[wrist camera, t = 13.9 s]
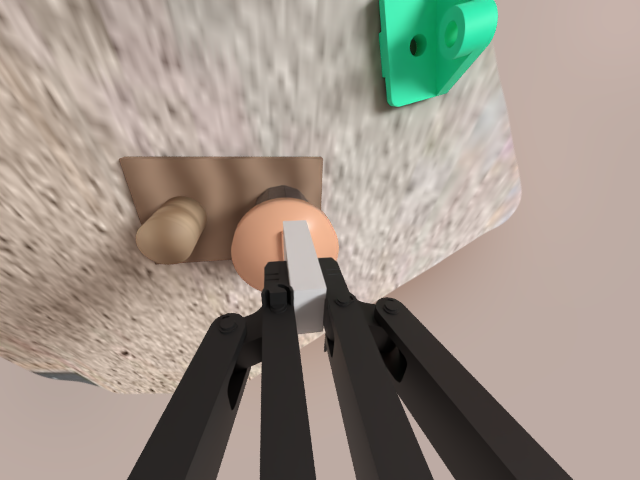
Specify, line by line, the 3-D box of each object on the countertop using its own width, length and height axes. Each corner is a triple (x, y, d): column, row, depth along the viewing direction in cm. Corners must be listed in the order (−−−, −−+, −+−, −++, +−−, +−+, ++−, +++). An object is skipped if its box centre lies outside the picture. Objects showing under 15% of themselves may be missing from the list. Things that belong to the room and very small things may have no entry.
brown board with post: (158, 259, 40) (131, 299, 32) (124, 156, 33) (76, 176, 25) (317, 249, 45) (328, 283, 37) (321, 156, 37) (335, 173, 29)
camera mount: (374, -5, 29) (419, -50, 20) (436, -22, 30) (507, -73, 21) (384, 107, 35) (422, 111, 27) (435, 93, 36) (490, 91, 27)
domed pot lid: (241, 276, 34) (237, 303, 30) (229, 191, 28) (221, 209, 24) (328, 269, 36) (336, 294, 32) (333, 189, 30) (344, 205, 26)
